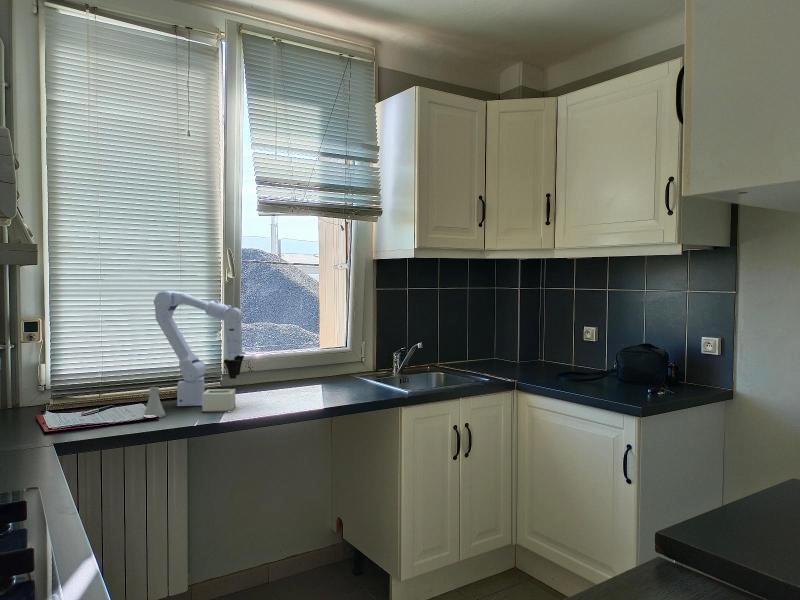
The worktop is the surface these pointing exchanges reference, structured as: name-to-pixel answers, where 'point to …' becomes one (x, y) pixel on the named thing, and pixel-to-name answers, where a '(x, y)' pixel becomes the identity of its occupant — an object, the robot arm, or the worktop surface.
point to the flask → (154, 404)
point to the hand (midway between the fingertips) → (234, 376)
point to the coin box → (218, 400)
